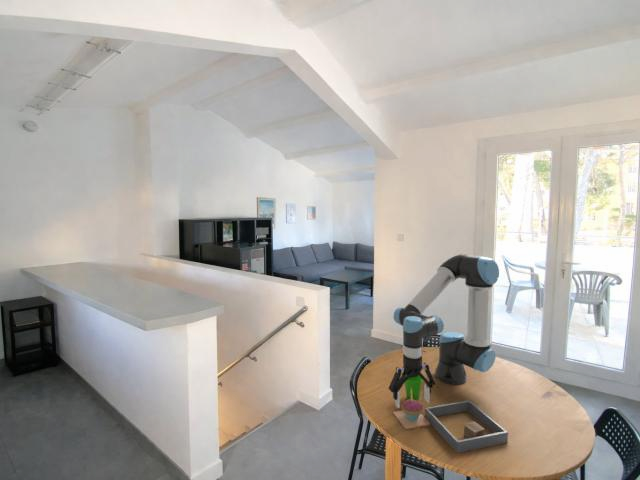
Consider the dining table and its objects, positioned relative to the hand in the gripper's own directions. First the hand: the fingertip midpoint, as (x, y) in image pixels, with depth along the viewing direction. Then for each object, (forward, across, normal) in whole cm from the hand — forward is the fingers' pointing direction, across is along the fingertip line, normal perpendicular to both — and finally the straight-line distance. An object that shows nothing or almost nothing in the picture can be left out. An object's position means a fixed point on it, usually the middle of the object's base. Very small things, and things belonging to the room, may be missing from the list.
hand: (412, 403), depth 142 cm
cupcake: (+6, 0, 0) cm, 6 cm away
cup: (+7, -8, -13) cm, 16 cm away
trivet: (+7, 0, 0) cm, 7 cm away
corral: (+7, -16, +11) cm, 21 cm away
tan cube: (+7, -16, +17) cm, 25 cm away
